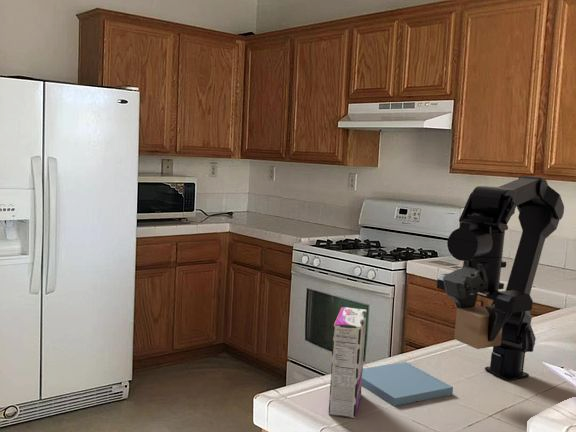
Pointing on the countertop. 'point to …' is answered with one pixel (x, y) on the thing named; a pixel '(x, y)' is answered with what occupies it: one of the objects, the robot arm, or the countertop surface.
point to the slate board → (403, 383)
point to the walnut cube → (474, 328)
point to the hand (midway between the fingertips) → (477, 335)
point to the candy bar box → (347, 362)
